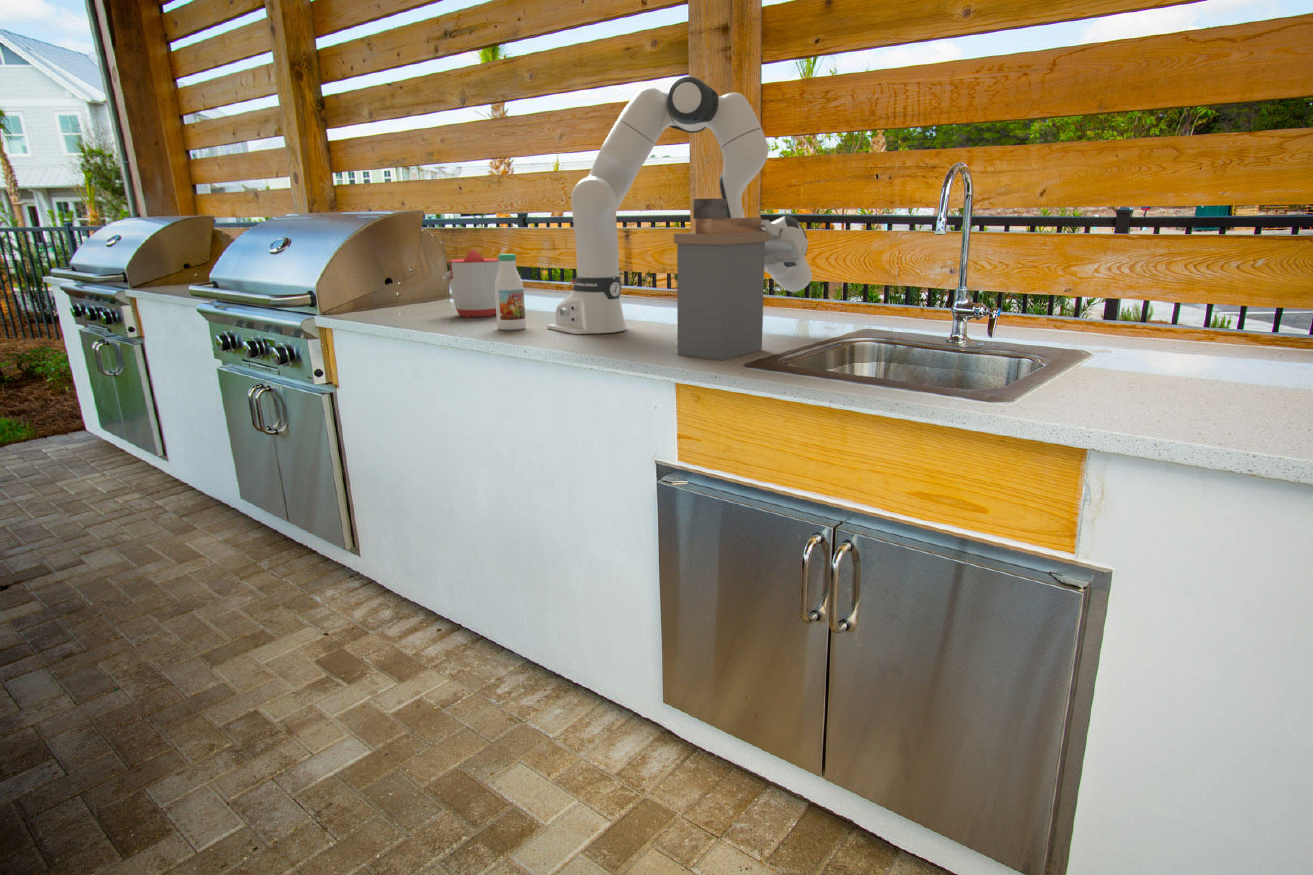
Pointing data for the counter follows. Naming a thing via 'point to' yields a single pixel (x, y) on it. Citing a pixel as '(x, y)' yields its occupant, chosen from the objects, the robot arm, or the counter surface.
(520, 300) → the milk bottle
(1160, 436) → the counter surface
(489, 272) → the citrus juicer
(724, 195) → the robot arm
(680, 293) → the cabinet
